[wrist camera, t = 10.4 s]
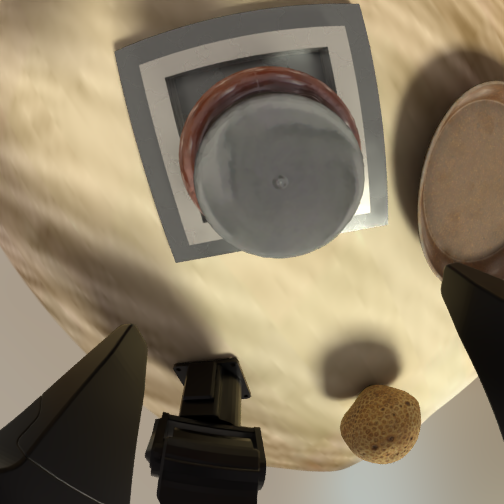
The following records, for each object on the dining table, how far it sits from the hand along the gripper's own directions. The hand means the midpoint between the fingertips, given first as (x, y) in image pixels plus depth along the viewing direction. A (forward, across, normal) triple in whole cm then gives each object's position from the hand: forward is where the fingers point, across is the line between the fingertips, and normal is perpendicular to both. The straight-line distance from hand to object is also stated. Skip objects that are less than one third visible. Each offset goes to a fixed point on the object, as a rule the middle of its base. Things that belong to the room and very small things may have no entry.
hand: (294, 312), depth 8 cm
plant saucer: (+13, -18, +3) cm, 23 cm away
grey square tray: (+13, 0, -4) cm, 13 cm away
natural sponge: (+13, -8, +26) cm, 30 cm away
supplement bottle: (+12, 0, -4) cm, 12 cm away
